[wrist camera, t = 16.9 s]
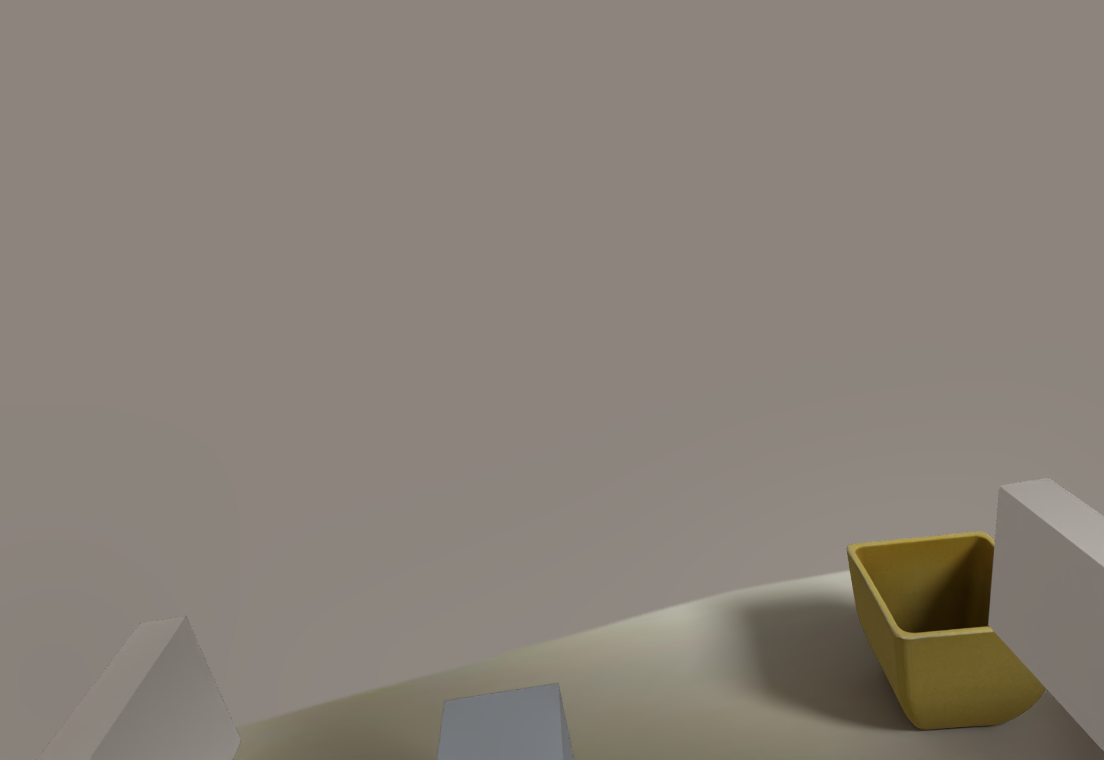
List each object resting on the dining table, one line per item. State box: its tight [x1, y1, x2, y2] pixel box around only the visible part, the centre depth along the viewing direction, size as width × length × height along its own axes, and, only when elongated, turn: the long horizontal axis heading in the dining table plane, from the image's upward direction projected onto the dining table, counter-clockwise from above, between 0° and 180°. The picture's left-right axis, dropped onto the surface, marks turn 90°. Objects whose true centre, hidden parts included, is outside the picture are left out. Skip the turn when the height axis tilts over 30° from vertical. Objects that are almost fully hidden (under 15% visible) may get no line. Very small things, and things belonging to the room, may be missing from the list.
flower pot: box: [847, 532, 1046, 730], centre depth 42 cm, size 9×9×9 cm
